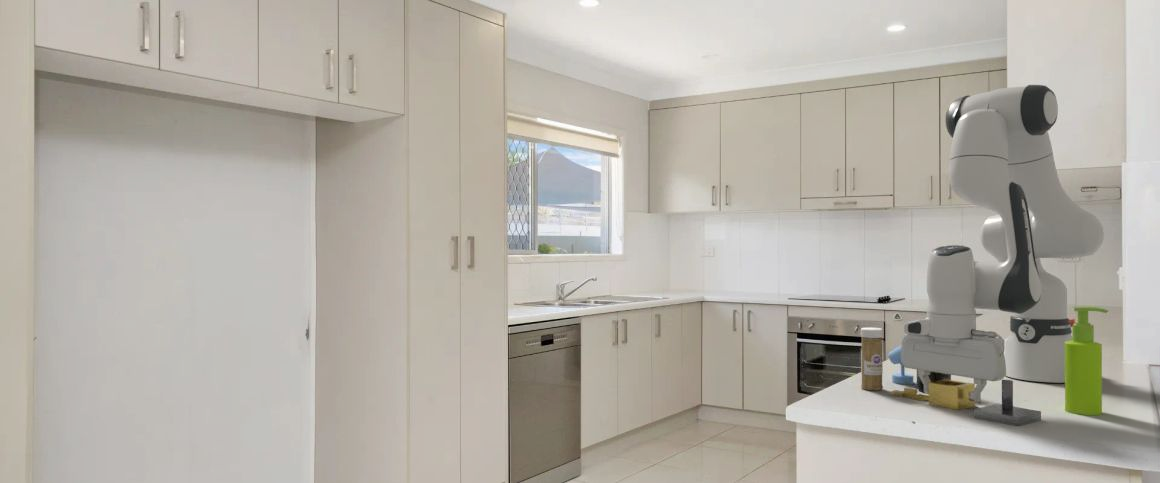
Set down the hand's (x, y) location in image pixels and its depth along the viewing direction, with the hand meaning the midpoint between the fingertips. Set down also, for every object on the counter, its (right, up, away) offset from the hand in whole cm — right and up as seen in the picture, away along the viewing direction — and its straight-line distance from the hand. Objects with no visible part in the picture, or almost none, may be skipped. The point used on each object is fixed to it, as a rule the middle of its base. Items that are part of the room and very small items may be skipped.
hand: (951, 396), depth 153 cm
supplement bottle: (+3, -2, +14) cm, 14 cm away
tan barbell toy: (-5, -2, +7) cm, 9 cm away
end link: (0, -2, 0) cm, 2 cm away
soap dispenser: (+22, -2, -7) cm, 24 cm away
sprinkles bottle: (-10, -2, +16) cm, 19 cm away
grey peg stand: (+5, -2, -11) cm, 12 cm away
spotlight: (0, -2, +23) cm, 23 cm away
